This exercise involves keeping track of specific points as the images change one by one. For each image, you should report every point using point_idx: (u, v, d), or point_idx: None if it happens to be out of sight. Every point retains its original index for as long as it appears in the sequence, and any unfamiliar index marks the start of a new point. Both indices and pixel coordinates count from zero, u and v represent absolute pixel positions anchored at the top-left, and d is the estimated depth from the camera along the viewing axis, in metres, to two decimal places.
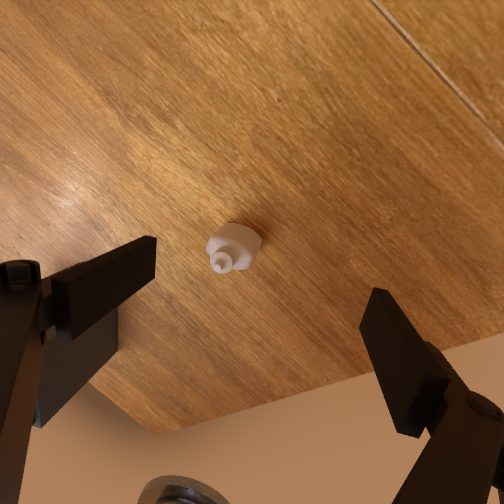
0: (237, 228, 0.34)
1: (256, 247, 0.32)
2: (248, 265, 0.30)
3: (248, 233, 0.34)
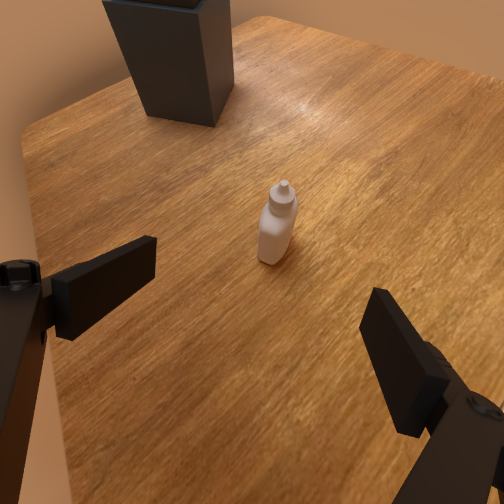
0: None
1: (276, 248, 0.28)
2: (266, 229, 0.26)
3: (285, 246, 0.31)
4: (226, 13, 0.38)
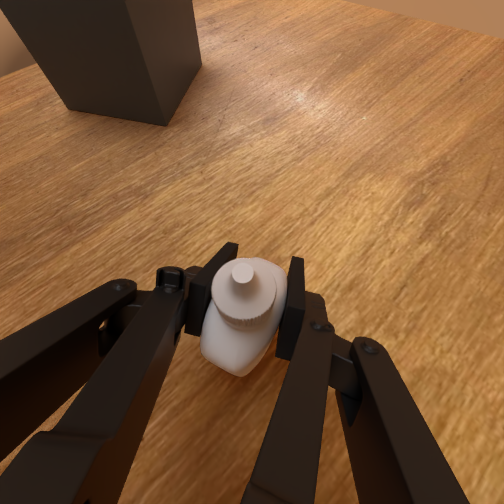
0: None
1: (243, 373, 0.14)
2: (213, 357, 0.11)
3: (265, 352, 0.16)
4: None
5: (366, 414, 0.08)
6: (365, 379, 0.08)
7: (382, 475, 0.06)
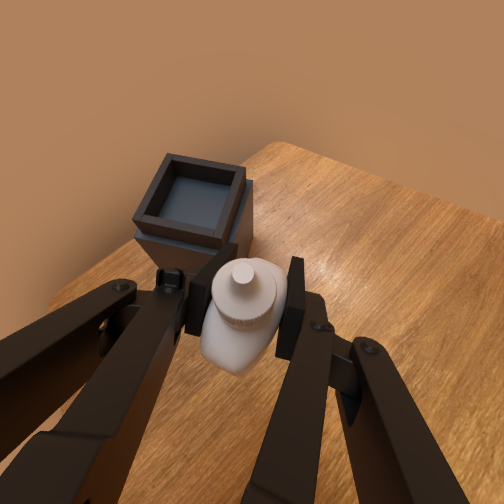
0: None
1: (243, 373, 0.14)
2: (213, 357, 0.11)
3: None
4: (250, 207, 0.39)
5: (366, 414, 0.08)
6: (365, 379, 0.08)
7: (382, 475, 0.06)
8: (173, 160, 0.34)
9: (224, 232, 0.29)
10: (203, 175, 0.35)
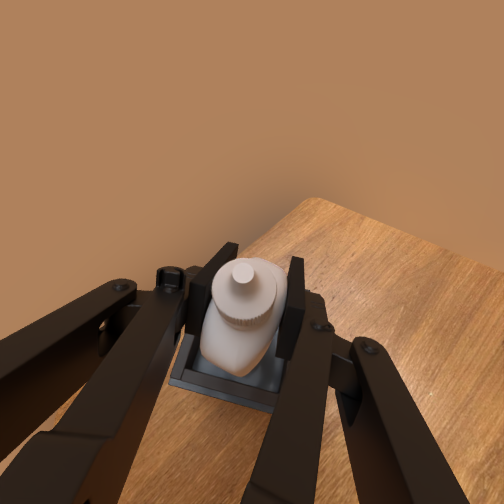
0: None
1: (243, 373, 0.14)
2: (213, 357, 0.11)
3: (265, 352, 0.16)
4: None
5: (366, 414, 0.08)
6: (365, 379, 0.08)
7: (382, 475, 0.06)
8: None
9: None
10: None
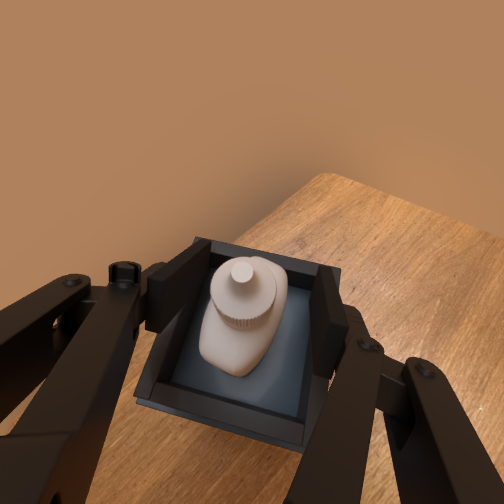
0: None
1: (242, 374, 0.13)
2: (212, 357, 0.11)
3: None
4: None
5: (419, 440, 0.07)
6: (419, 402, 0.08)
7: None
8: None
9: None
10: None
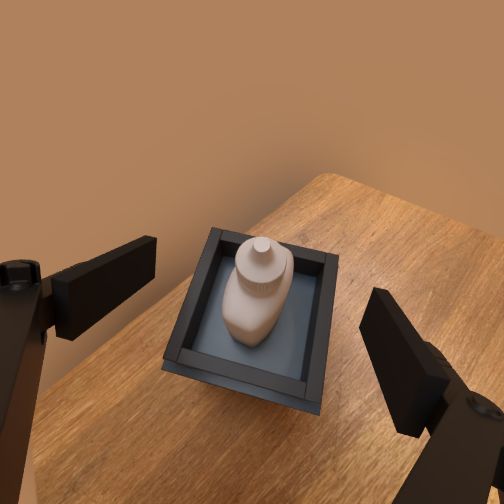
0: None
1: (255, 338, 0.16)
2: (233, 318, 0.14)
3: (273, 324, 0.19)
4: None
5: None
6: None
7: None
8: (223, 240, 0.21)
9: None
10: None
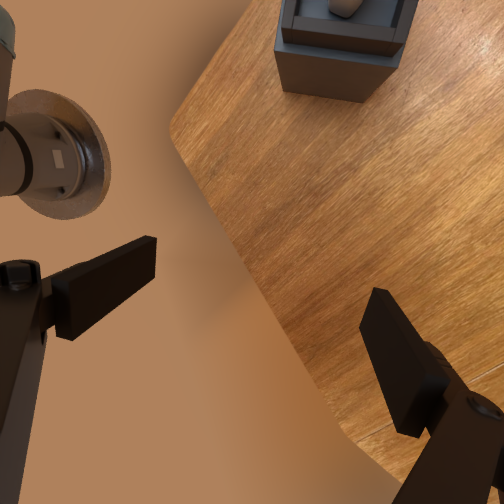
0: None
1: None
2: None
3: None
4: None
5: None
6: None
7: None
8: None
9: (407, 30, 0.22)
10: None
